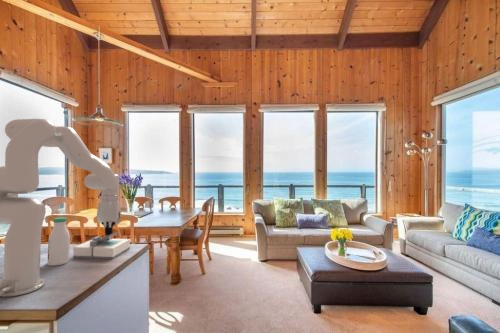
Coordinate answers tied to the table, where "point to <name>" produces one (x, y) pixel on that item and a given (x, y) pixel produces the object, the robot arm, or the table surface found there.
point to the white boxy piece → (101, 248)
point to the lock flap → (107, 237)
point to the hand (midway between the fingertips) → (108, 234)
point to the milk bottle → (59, 243)
